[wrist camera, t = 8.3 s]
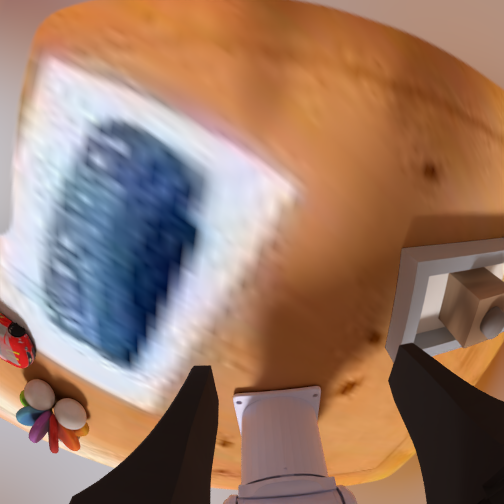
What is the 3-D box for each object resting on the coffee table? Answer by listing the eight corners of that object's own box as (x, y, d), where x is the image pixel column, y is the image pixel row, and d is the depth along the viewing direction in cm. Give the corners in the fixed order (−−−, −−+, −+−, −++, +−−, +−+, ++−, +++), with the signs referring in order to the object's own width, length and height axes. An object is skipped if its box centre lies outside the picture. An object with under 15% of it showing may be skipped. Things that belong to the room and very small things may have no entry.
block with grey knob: (472, 309, 22) (503, 342, 17) (438, 318, 22) (469, 356, 17) (483, 266, 20) (521, 296, 15) (448, 272, 20) (487, 307, 15)
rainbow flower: (88, 432, 29) (73, 474, 22) (28, 396, 27) (7, 433, 20) (98, 407, 27) (78, 456, 20) (28, 364, 24) (0, 406, 18)
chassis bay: (493, 318, 23) (505, 330, 21) (385, 347, 23) (395, 365, 21) (515, 236, 19) (531, 245, 17) (401, 248, 20) (418, 262, 17)
